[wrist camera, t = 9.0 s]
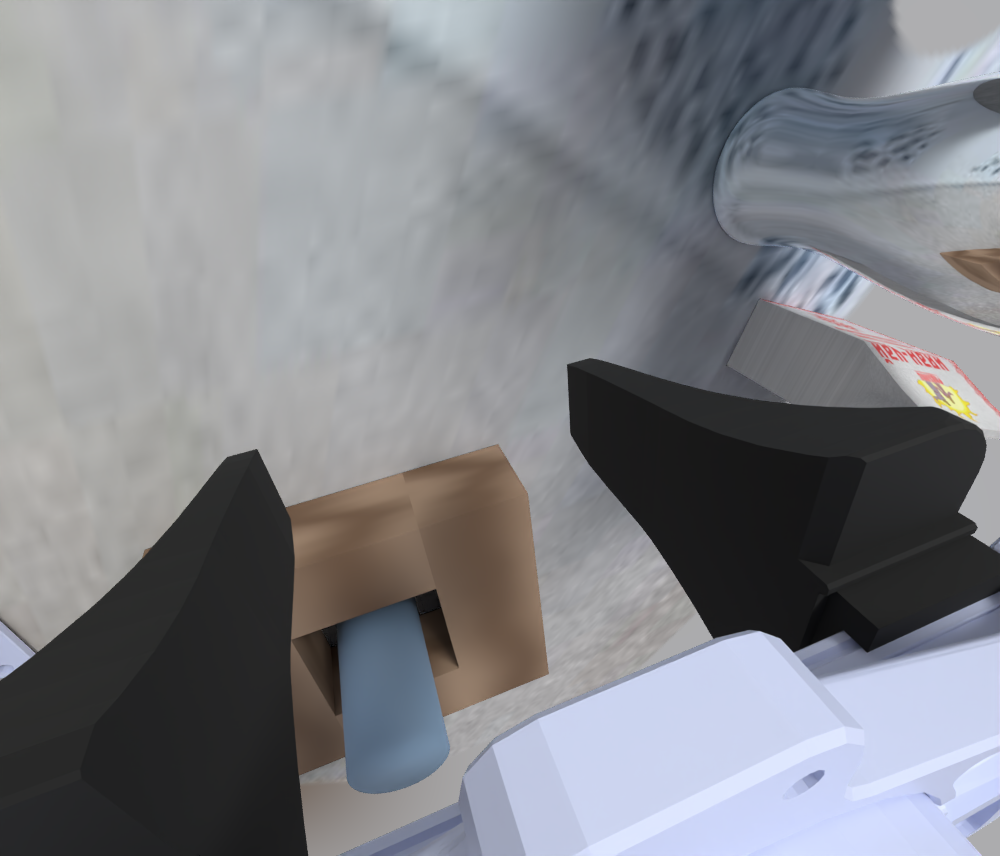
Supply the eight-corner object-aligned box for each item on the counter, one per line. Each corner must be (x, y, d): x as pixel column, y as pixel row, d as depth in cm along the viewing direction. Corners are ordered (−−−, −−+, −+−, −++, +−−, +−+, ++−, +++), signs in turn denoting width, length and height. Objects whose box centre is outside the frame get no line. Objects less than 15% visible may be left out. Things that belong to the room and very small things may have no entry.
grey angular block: (809, 379, 30) (995, 476, 22) (726, 365, 27) (904, 470, 19) (843, 319, 29) (1057, 400, 21) (759, 298, 26) (968, 383, 18)
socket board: (267, 716, 30) (263, 789, 26) (145, 549, 22) (119, 626, 19) (523, 618, 33) (548, 674, 30) (497, 444, 25) (527, 493, 22)
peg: (346, 626, 28) (363, 805, 21) (324, 577, 26) (333, 760, 19) (417, 601, 29) (457, 765, 22) (401, 552, 27) (439, 717, 19)
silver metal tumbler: (712, 279, 24) (1124, 445, 12) (691, 123, 20) (1281, 141, 8) (835, 210, 25) (1355, 307, 13) (839, 42, 20) (1619, -55, 8)
